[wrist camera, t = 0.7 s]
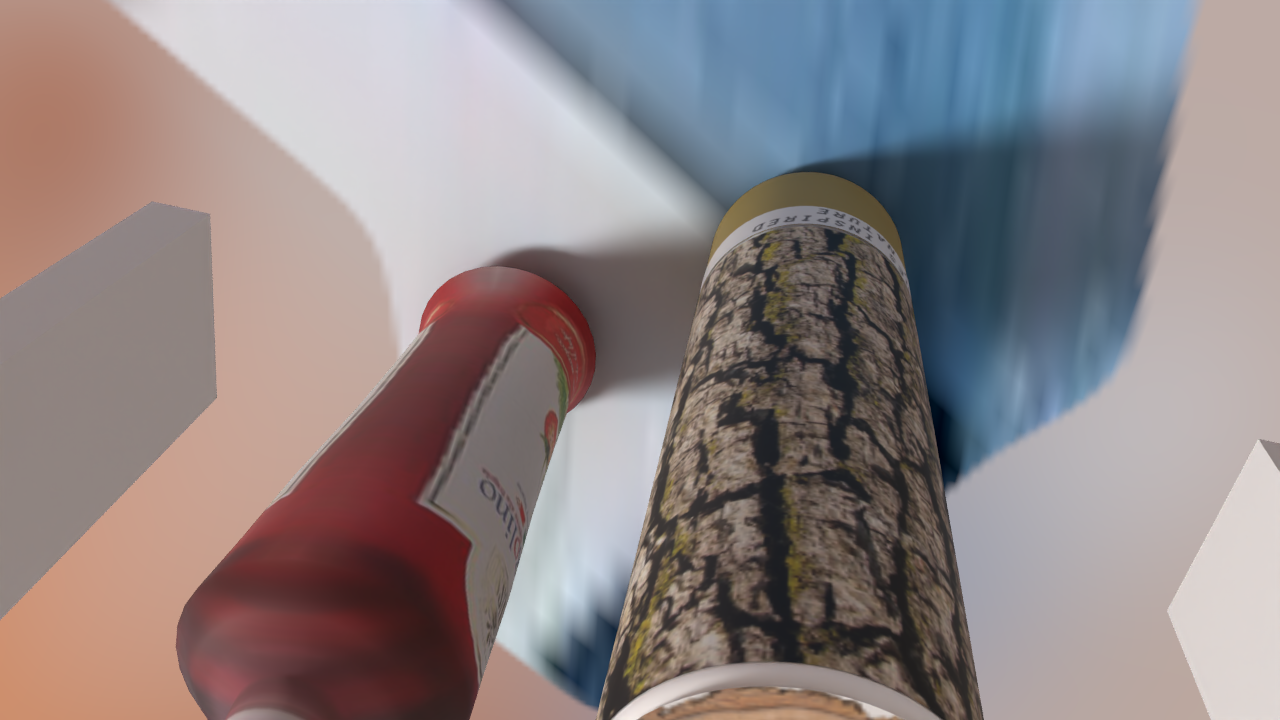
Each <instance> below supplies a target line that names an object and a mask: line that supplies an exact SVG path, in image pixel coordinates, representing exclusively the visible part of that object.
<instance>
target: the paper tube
mask: <svg viewBox="0 0 1280 720" xmlns="http://www.w3.org/2000/svg"><path fill="white" fill-rule="evenodd" d="M596 720H984V718H983V712H982V706H981V700H980V695H979V689H978V683H977V677H976V671H975V666H974V660H973V655H972V649H971V643H970V637H969V631H968V625H967V619H966V613H965V607H964V602H963V596H962V590H961V585H960V578H959V573H958V567H957V562H956V555H955V549H954V544H953V538H952V532H951V526H950V520H949V515H948V509H947V503H946V497H945V491H944V485H943V480H942V474H941V468H940V462H939V456H938V451H937V445H936V439H935V433H934V427H933V421H932V416H931V410H930V404H929V398H928V392H927V387H926V381H925V375H924V369H923V363H922V357H921V352H920V346H919V340H918V334H917V328H916V323H915V317H914V311H913V305H912V299H911V294H910V288H909V282H908V278H907V275H906V269H905V263H904V257H903V252H902V246H901V241H900V238H899V234H898V232H897V229H896V227H895V224H894V223H893V221H892V219H891V217H890V216H889V214H888V213H887V212H886V210H885V209H884V207H883V206H882V205H881V204H880V203H879V202H878V201H877V200H876V199H875V198H874V197H873V196H872V195H871V194H870V193H868V192H867V191H866V190H864V189H863V188H861V187H860V186H858V185H856V184H854V183H853V182H850V181H848V180H846V179H843V178H841V177H837V176H834V175H830V174H825V173H817V172H798V173H790V174H785V175H781V176H778V177H774V178H771V179H769V180H767V181H764V182H762V183H760V184H759V185H757V186H755V187H753V188H752V189H750V190H749V191H748V192H746V193H745V194H744V195H743V196H741V197H740V198H739V199H738V200H737V201H736V202H735V203H734V204H733V205H732V207H731V208H730V209H729V210H728V212H727V213H726V214H725V216H724V218H723V219H722V221H721V223H720V224H719V227H718V229H717V231H716V233H715V236H714V240H713V243H712V247H711V251H710V256H709V260H708V264H707V268H706V271H705V274H704V278H703V281H702V285H701V289H700V294H699V298H698V302H697V306H696V310H695V314H694V318H693V322H692V327H691V331H690V335H689V339H688V343H687V347H686V351H685V355H684V359H683V364H682V368H681V372H680V376H679V380H678V384H677V388H676V392H675V397H674V401H673V405H672V409H671V413H670V417H669V421H668V425H667V429H666V434H665V438H664V442H663V446H662V450H661V454H660V458H659V462H658V466H657V471H656V475H655V479H654V483H653V487H652V491H651V495H650V499H649V504H648V508H647V512H646V516H645V520H644V524H643V528H642V532H641V536H640V541H639V545H638V549H637V553H636V557H635V561H634V565H633V569H632V574H631V578H630V582H629V586H628V590H627V594H626V598H625V602H624V606H623V611H622V615H621V619H620V623H619V627H618V631H617V635H616V639H615V643H614V648H613V652H612V656H611V660H610V664H609V668H608V672H607V676H606V681H605V685H604V689H603V693H602V697H601V701H600V705H599V709H598V713H597V718H596Z"/></svg>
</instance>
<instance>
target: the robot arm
mask: <svg viewBox="0 0 1280 720" xmlns="http://www.w3.org/2000/svg"><path fill="white" fill-rule="evenodd" d="M211 254H212V253H211V226H210V214H208V213H203V212H199V211H193V210H189V209H184V208H180V207H175V206H171V205H166V204H161V203H156V202H151V203H149V204H148V205H146V206H144V207H143V208H141V209H140V210H138V211H137V212H135V213H133V214H132V215H130V216H129V217H127V218H126V219H124V220H123V221H121V222H119V223H118V224H116V225H115V226H113V227H112V228H110V229H108V230H107V231H105V232H104V233H102V234H101V235H99V236H97V237H96V238H94V239H93V240H91V241H90V242H88V243H87V244H85V245H83V246H82V247H80V248H79V249H77V250H75V251H74V252H72V253H71V254H69V255H68V256H66V257H65V258H63V259H61V260H60V261H58V262H57V263H55V264H54V265H52V266H50V267H49V268H47V269H46V270H44V271H43V272H41V273H39V274H38V275H37V276H35V277H33V278H32V279H30V280H28V281H27V282H25V283H24V284H23V285H21V286H19V287H18V288H16V289H15V290H13V291H11V292H10V293H8V294H7V295H5V296H4V297H2V298H1V299H0V620H1V619H2V617H4V616H5V615H6V614H7V612H8V611H9V610H10V609H11V608H12V607H13V606H14V605H15V604H16V603H17V602H18V601H19V600H20V599H21V598H22V597H23V596H24V595H25V594H26V593H27V592H28V591H29V590H30V589H31V588H32V587H33V586H34V584H36V583H37V582H38V581H39V580H40V579H41V577H43V576H44V575H45V574H46V572H47V571H48V570H49V569H50V568H51V567H52V566H53V565H54V564H55V563H56V562H57V561H58V560H59V559H60V558H61V557H62V556H63V555H64V554H65V553H66V552H67V551H68V550H69V549H70V548H71V547H72V546H73V545H74V544H75V543H76V542H77V541H78V540H79V539H80V538H81V537H82V536H83V534H84V533H85V532H86V531H87V530H88V529H89V528H90V527H91V526H92V525H93V524H94V523H95V522H96V521H97V520H98V519H99V518H100V517H101V516H102V515H103V514H104V513H105V512H106V511H107V510H108V509H109V508H110V506H112V505H113V504H114V503H115V502H116V501H117V500H118V499H119V498H120V496H122V494H123V493H124V492H125V491H126V490H127V489H128V488H129V487H130V486H131V485H132V484H133V483H134V482H135V481H136V480H137V479H138V478H139V477H140V476H141V475H142V474H143V473H144V472H145V471H146V470H147V469H148V468H149V467H150V466H151V465H152V463H154V462H155V461H156V460H157V459H158V458H159V457H160V456H161V454H162V453H163V452H164V451H165V450H166V449H167V448H168V447H169V446H170V445H171V444H172V443H173V442H174V441H175V440H176V439H177V438H178V437H179V436H180V435H181V434H182V433H183V432H184V431H185V430H186V429H187V428H188V427H189V426H190V424H192V423H193V422H194V420H196V418H198V416H200V414H201V413H202V412H203V411H204V410H205V409H206V408H207V407H208V406H209V405H210V404H211V403H212V402H213V401H214V400H215V399H216V398H217V392H216V391H217V389H216V362H215V337H214V336H215V335H214V309H213V280H212V255H211ZM1167 612H1168V614H1169V617H1170V619H1171V621H1172V624H1173V626H1174V629H1175V632H1176V634H1177V637H1178V639H1179V642H1180V644H1181V646H1182V649H1183V651H1184V654H1185V656H1186V659H1187V661H1188V664H1189V666H1190V669H1191V671H1192V674H1193V676H1194V679H1195V681H1196V684H1197V686H1198V689H1199V691H1200V694H1201V696H1202V699H1203V701H1204V703H1205V706H1206V709H1207V711H1208V714H1209V716H1210V719H1211V720H1280V444H1279V443H1274V442H1270V441H1265V440H1261V439H1258V441H1257V443H1256V445H1255V446H1254V448H1253V450H1252V452H1251V454H1250V456H1249V458H1248V459H1247V461H1246V463H1245V465H1244V467H1243V469H1242V471H1241V473H1240V475H1239V476H1238V478H1237V480H1236V482H1235V484H1234V486H1233V488H1232V490H1231V491H1230V493H1229V495H1228V497H1227V499H1226V501H1225V503H1224V505H1223V507H1222V508H1221V510H1220V512H1219V514H1218V516H1217V518H1216V520H1215V522H1214V524H1213V525H1212V527H1211V529H1210V531H1209V533H1208V535H1207V537H1206V538H1205V540H1204V542H1203V544H1202V546H1201V548H1200V550H1199V552H1198V554H1197V556H1196V558H1195V559H1194V561H1193V563H1192V565H1191V567H1190V569H1189V570H1188V572H1187V574H1186V576H1185V578H1184V580H1183V582H1182V584H1181V586H1180V588H1179V589H1178V591H1177V593H1176V595H1175V597H1174V599H1173V601H1172V602H1171V604H1170V606H1169V608H1168V610H1167Z"/></svg>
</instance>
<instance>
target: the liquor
mask: <svg viewBox="0 0 1280 720" xmlns="http://www.w3.org/2000/svg"><path fill="white" fill-rule="evenodd" d="M595 360H596V352H595V346H594V339H593V336H592V333H591V331H590V328H589V325H588V323H587V321H586V319H585V318H584V316H583V314H582V313H581V311H580V310H579V308H578V307H577V306H576V304H575V303H574V302H573V301H572V300H571V299H570V298H569V297H568V296H567V295H566V294H565V293H564V292H563V291H561V290H560V289H559V288H558V287H556V286H555V285H554V284H552V283H551V282H549V281H547V280H545V279H543V278H541V277H539V276H537V275H536V274H533V273H530V272H527V271H523V270H520V269H517V268H509V267H501V266H493V267H480V268H477V269H473V270H469V271H465V272H463V273H461V274H459V275H457V276H455V277H453V278H451V279H449V280H448V281H447V282H446V283H445V284H443V285H442V286H441V287H440V288H439V289H438V290H437V291H436V292H435V293H434V295H433V296H432V297H431V299H430V300H429V301H428V303H427V306H426V308H425V310H424V313H423V315H422V319H421V324H420V329H419V334H418V336H417V337H416V338H415V339H414V341H413V342H412V343H411V344H410V346H409V347H408V348H407V349H406V351H405V352H404V353H403V354H402V355H401V357H400V358H399V359H398V360H397V361H396V363H395V364H394V365H393V366H392V367H391V368H390V370H389V371H388V372H387V373H386V374H385V375H384V377H383V378H382V379H381V380H380V381H379V383H378V384H377V385H376V386H375V387H374V388H373V390H372V391H371V392H370V393H369V394H368V396H367V397H366V398H365V399H364V400H363V402H362V403H361V404H360V405H359V406H358V407H357V409H355V411H354V412H353V413H352V414H351V415H350V416H349V417H348V418H347V419H346V421H344V422H343V424H342V425H341V426H340V427H339V428H338V429H337V430H336V431H335V432H334V433H333V434H332V435H331V437H330V438H329V439H328V440H327V441H326V442H325V443H324V444H323V445H322V446H321V447H320V448H319V449H318V451H317V452H316V453H315V454H314V455H313V456H312V457H311V458H310V459H309V460H308V462H307V463H306V464H305V465H304V466H303V467H302V468H301V469H300V470H299V471H298V472H297V473H296V474H295V475H294V477H293V478H292V479H291V480H290V481H289V483H288V484H287V485H286V486H285V487H284V489H283V490H282V491H281V492H280V493H279V494H278V496H277V497H276V498H275V499H274V500H273V501H272V503H271V504H270V505H269V506H268V507H267V509H266V510H265V511H264V512H263V513H262V515H261V516H260V517H259V518H258V519H257V521H256V522H255V523H254V524H253V525H252V526H251V528H250V529H249V530H248V531H247V532H246V534H245V535H244V536H243V537H242V538H241V539H240V540H239V542H238V543H237V544H236V545H235V546H234V547H233V549H232V550H231V551H230V552H229V553H228V554H227V555H226V556H225V558H224V559H223V560H222V561H221V562H220V563H219V564H218V566H217V567H216V568H215V569H214V570H213V571H212V573H211V574H210V575H209V576H208V577H207V578H206V579H205V580H204V582H203V583H202V584H201V585H200V586H199V587H198V589H197V590H196V591H195V592H194V594H193V595H192V596H191V598H190V599H189V600H188V602H187V603H186V605H185V606H184V609H183V612H182V614H181V617H180V620H179V622H178V626H177V639H176V650H177V655H178V661H179V667H180V670H181V673H182V675H183V677H184V680H185V682H186V685H187V687H188V689H189V692H190V693H191V694H192V696H193V698H194V699H195V701H196V702H197V704H198V705H199V707H200V708H201V710H202V712H203V713H204V714H205V716H206V717H207V719H208V720H469V719H470V716H471V713H472V710H473V706H474V703H475V700H476V697H477V694H478V690H479V687H480V684H481V681H482V677H483V674H484V671H485V668H486V665H487V662H488V659H489V656H490V653H491V650H492V647H493V644H494V641H495V638H496V635H497V632H498V629H499V626H500V623H501V620H502V617H503V614H504V611H505V608H506V605H507V602H508V599H509V596H510V592H511V589H512V585H513V581H514V578H515V574H516V571H517V567H518V564H519V560H520V557H521V553H522V550H523V546H524V543H525V539H526V536H527V532H528V529H529V525H530V522H531V518H532V514H533V511H534V508H535V505H536V502H537V499H538V496H539V493H540V490H541V487H542V484H543V481H544V478H545V475H546V472H547V469H548V466H549V463H550V460H551V457H552V453H553V450H554V447H555V445H556V442H557V439H558V436H559V433H560V431H561V428H562V425H563V422H564V420H565V417H566V414H567V413H568V412H569V411H571V410H572V409H573V408H574V407H575V406H576V405H577V404H578V403H579V402H580V401H581V400H582V398H583V397H584V395H585V394H586V392H587V390H588V388H589V387H590V385H591V382H592V378H593V375H594V371H595Z"/></svg>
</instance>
